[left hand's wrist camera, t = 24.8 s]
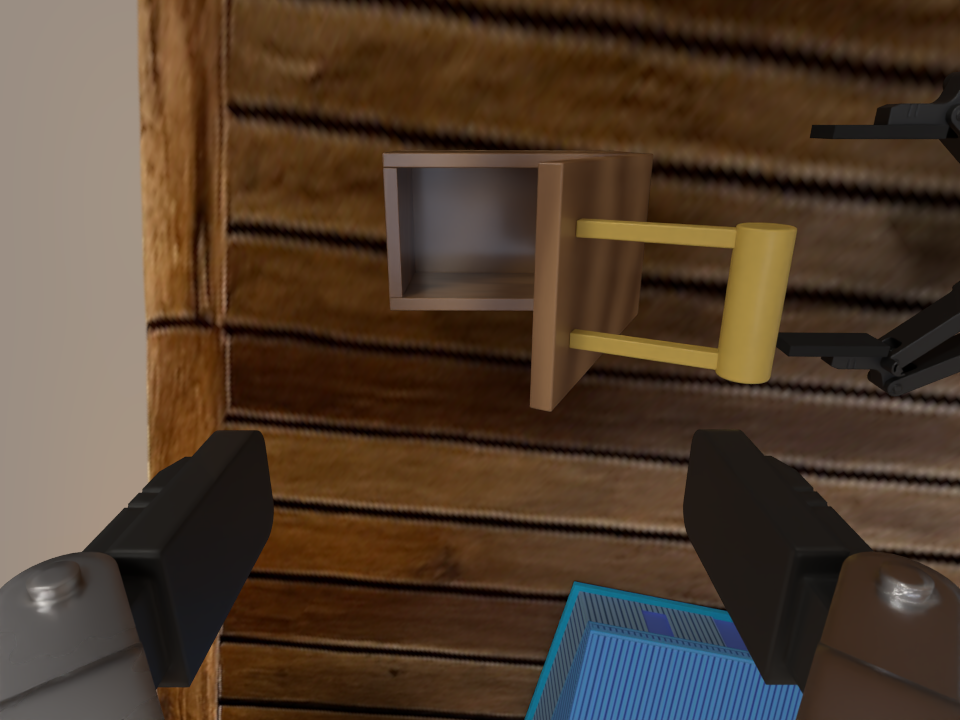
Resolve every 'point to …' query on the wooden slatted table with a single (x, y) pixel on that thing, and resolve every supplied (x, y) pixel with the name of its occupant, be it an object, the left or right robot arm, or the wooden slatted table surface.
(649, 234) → the lid
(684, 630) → the model building
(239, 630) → the wooden slatted table surface
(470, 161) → the chest
